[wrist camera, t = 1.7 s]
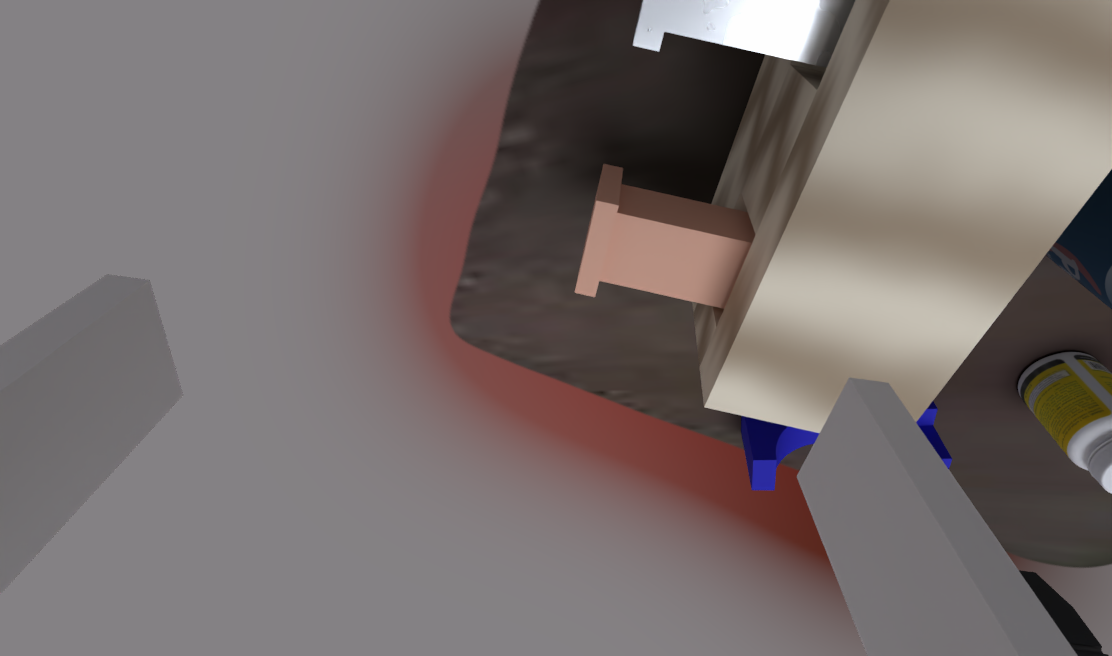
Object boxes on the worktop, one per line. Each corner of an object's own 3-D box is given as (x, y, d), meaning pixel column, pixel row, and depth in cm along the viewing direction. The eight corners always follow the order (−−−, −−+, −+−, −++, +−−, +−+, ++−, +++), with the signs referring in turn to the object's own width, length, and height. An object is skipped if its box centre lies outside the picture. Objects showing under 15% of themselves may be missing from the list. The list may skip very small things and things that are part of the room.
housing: (835, -140, 25) (977, -193, 14) (1035, -96, 25) (1331, -115, 14) (688, 267, 38) (704, 407, 27) (822, 297, 38) (894, 450, 27)
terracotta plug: (603, 163, 29) (596, 200, 25) (847, 218, 29) (879, 263, 25) (584, 247, 32) (574, 292, 28) (806, 297, 31) (828, 349, 28)
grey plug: (666, -108, 22) (670, -116, 18) (981, -38, 22) (1051, -32, 18) (635, 27, 25) (632, 45, 21) (914, 89, 25) (963, 119, 21)
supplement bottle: (1011, 408, 40) (1085, 506, 34) (1018, 356, 38) (1099, 450, 31) (1093, 398, 39) (1187, 498, 32) (1106, 343, 37) (1211, 438, 30)
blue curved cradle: (920, 379, 40) (957, 441, 35) (908, 426, 43) (942, 490, 38) (742, 385, 43) (753, 444, 38) (740, 429, 45) (751, 490, 40)
